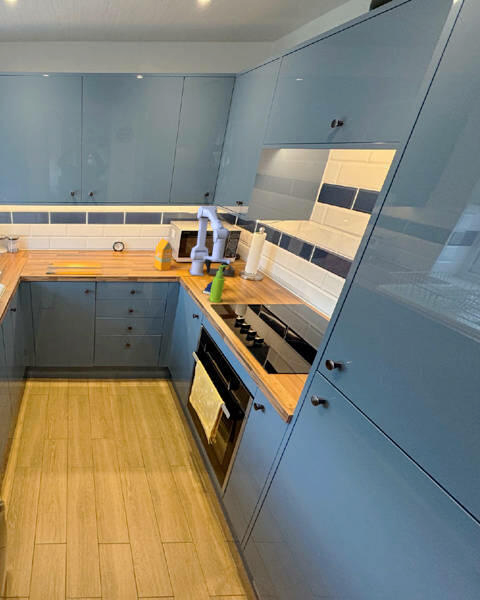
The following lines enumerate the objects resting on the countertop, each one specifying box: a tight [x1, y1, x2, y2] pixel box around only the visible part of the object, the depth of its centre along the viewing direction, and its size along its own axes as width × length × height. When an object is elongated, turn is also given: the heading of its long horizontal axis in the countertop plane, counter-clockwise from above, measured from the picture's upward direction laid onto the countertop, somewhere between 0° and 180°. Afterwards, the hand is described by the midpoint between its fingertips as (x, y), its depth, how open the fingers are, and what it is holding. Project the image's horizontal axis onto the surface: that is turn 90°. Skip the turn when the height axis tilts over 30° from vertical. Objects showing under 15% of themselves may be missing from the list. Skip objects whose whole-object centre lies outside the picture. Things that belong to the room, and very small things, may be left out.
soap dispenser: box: [208, 264, 229, 304], centre depth 174 cm, size 6×7×20 cm
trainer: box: [202, 281, 212, 296], centre depth 189 cm, size 11×5×4 cm, turn 135°
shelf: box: [205, 264, 236, 278], centre depth 214 cm, size 11×15×4 cm
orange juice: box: [153, 238, 174, 272], centre depth 221 cm, size 8×9×20 cm
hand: (214, 273), depth 186 cm, fingers open, 7 cm apart
